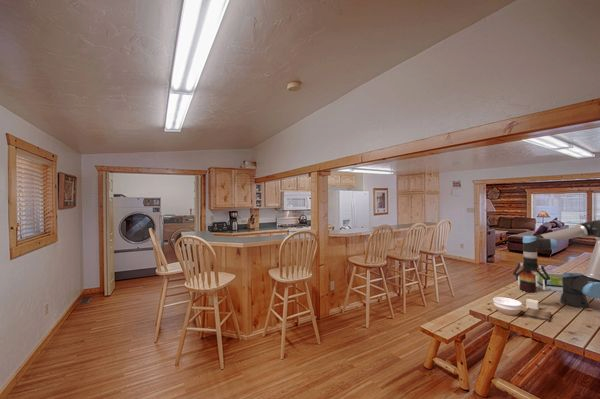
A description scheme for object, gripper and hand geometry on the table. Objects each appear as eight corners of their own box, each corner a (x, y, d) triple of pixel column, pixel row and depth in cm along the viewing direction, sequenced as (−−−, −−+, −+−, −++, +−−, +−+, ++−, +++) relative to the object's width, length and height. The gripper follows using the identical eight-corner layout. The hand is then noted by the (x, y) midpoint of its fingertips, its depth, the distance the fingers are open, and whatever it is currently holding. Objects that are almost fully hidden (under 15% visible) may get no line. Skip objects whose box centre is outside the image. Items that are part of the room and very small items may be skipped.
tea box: (542, 290, 225) (541, 273, 225) (537, 286, 234) (536, 270, 234) (565, 292, 219) (564, 274, 219) (558, 288, 228) (558, 271, 228)
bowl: (524, 319, 173) (524, 307, 173) (494, 314, 181) (494, 303, 182) (520, 310, 187) (519, 299, 187) (492, 306, 195) (491, 295, 195)
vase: (523, 288, 231) (522, 265, 231) (538, 291, 221) (537, 267, 222) (516, 290, 227) (515, 266, 227) (532, 293, 217) (531, 269, 217)
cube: (538, 309, 188) (538, 300, 188) (537, 311, 184) (537, 303, 184) (527, 306, 192) (527, 298, 192) (526, 309, 188) (526, 300, 188)
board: (551, 315, 177) (551, 312, 177) (549, 322, 168) (548, 318, 168) (527, 310, 186) (527, 307, 186) (524, 316, 177) (524, 313, 177)
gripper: (554, 259, 182) (555, 289, 181) (509, 254, 200) (510, 282, 200) (553, 260, 177) (555, 292, 176) (507, 255, 195) (508, 284, 195)
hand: (531, 286), depth 188 cm, fingers open, 13 cm apart
